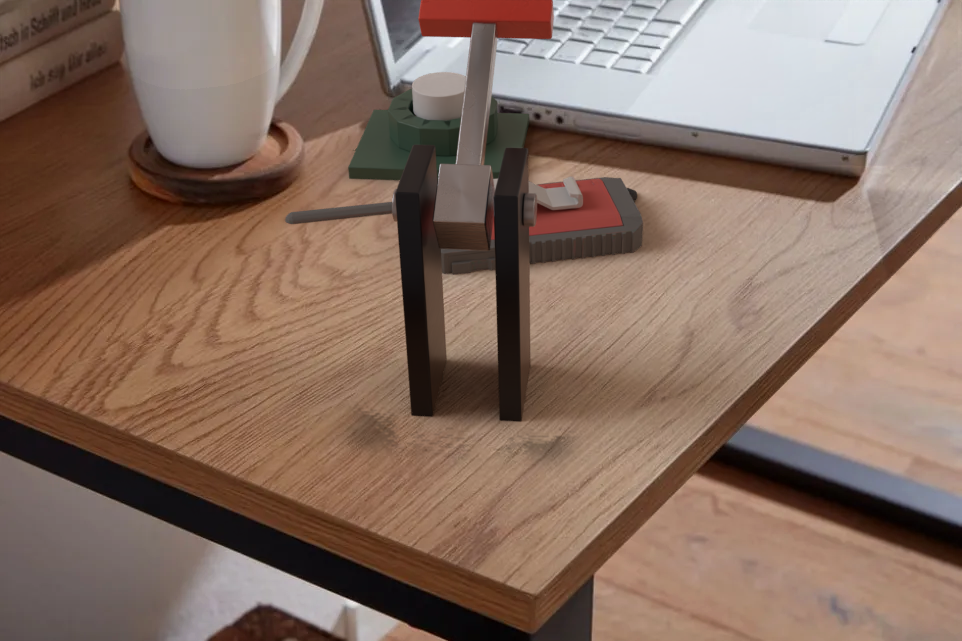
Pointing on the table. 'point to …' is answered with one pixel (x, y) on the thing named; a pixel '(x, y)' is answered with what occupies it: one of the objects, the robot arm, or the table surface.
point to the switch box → (427, 139)
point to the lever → (476, 108)
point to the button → (438, 96)
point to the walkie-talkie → (541, 223)
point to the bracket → (426, 285)
